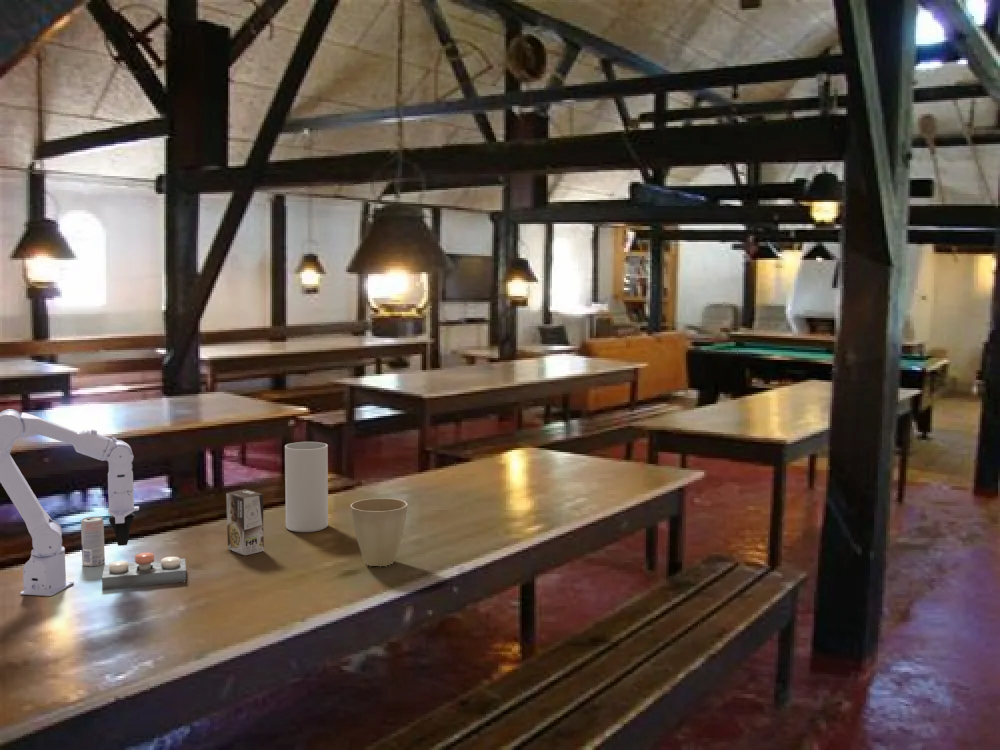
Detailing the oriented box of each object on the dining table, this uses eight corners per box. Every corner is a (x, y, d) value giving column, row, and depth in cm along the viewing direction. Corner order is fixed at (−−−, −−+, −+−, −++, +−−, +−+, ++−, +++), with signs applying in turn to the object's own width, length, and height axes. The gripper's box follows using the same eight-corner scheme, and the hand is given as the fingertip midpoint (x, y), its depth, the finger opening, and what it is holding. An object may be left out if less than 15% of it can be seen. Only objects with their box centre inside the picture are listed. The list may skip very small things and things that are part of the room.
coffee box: (265, 551, 253) (264, 493, 251) (244, 556, 248) (243, 497, 246) (247, 544, 259) (246, 488, 257) (226, 549, 254) (225, 492, 252)
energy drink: (98, 559, 243) (97, 515, 242) (108, 563, 240) (107, 518, 239) (78, 564, 239) (76, 519, 238) (88, 568, 236) (87, 522, 235)
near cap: (108, 583, 223) (108, 567, 223) (110, 578, 227) (109, 561, 227) (128, 581, 225) (127, 565, 224) (129, 576, 229) (128, 560, 228)
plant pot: (415, 557, 249) (415, 500, 247) (394, 574, 235) (394, 513, 233) (364, 552, 253) (364, 495, 251) (341, 568, 239) (340, 508, 237)
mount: (102, 589, 220) (101, 577, 220) (105, 576, 230) (104, 565, 229) (185, 582, 227) (185, 570, 226) (185, 569, 236) (185, 558, 236)
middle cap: (135, 574, 225) (134, 558, 225) (135, 569, 229) (135, 553, 229) (154, 573, 227) (153, 557, 226) (154, 567, 231) (154, 551, 230)
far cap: (161, 578, 227) (161, 562, 227) (161, 573, 231) (161, 557, 231) (180, 577, 229) (179, 561, 228) (180, 571, 233) (179, 556, 232)
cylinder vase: (333, 522, 283) (332, 442, 280) (321, 533, 270) (320, 450, 267) (293, 521, 284) (292, 441, 281) (280, 532, 271) (279, 448, 269)
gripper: (136, 496, 220) (138, 551, 221) (139, 483, 234) (141, 535, 235) (105, 498, 218) (107, 554, 219) (109, 485, 231) (111, 537, 233)
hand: (122, 544), depth 227 cm, fingers closed
